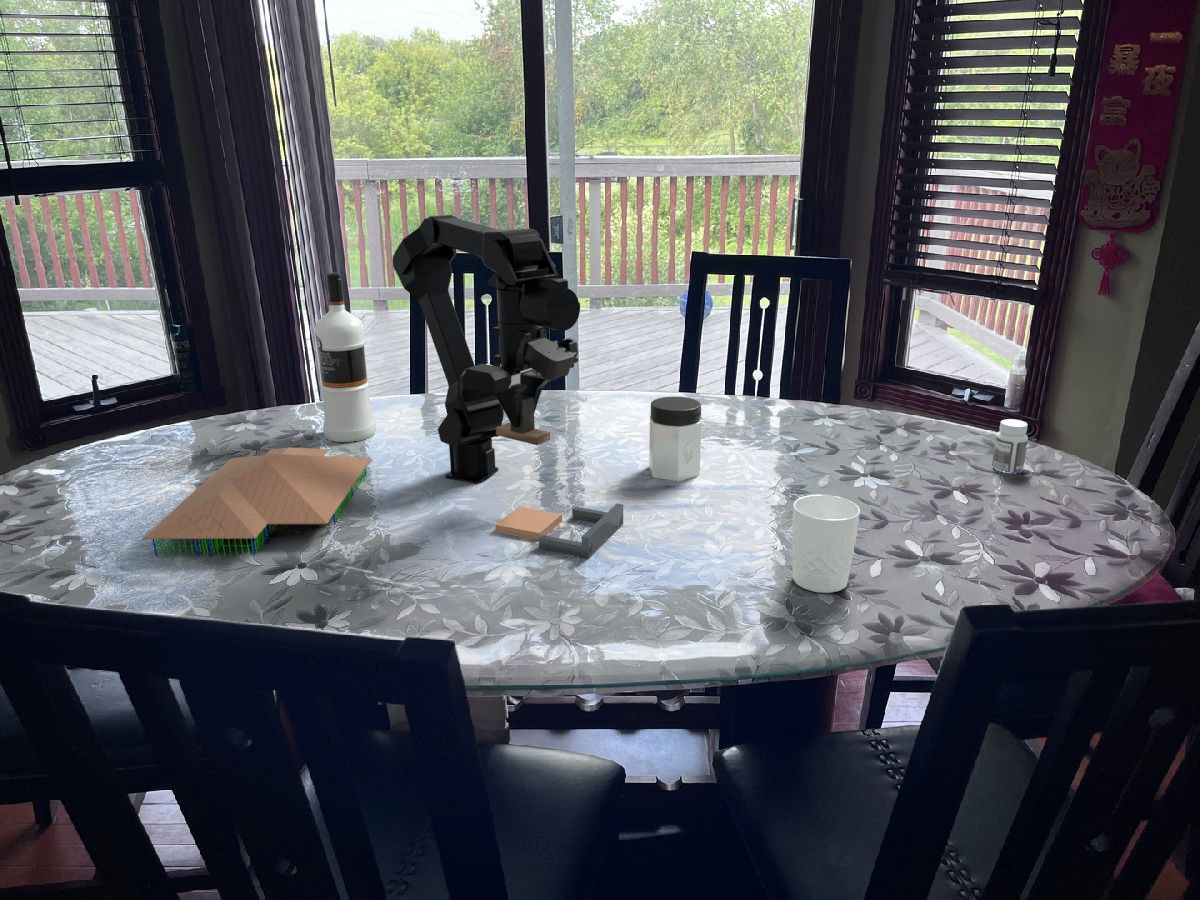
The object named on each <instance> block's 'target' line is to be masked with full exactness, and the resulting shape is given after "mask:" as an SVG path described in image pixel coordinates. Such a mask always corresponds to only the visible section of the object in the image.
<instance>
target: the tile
mask: <svg viewBox="0 0 1200 900" xmlns="http://www.w3.org/2000/svg"><path fill="white" fill-rule="evenodd" d="M562 522H563V514H562V513H558V512H554V511H553V512H551V511H546V510H541V509H536V508H530V507H525V506H518V507H517V508H515V509H514V510H513V511H511V512H510V513H509V514H508V515H506V516H505V517H503V518H502V519H501V520H499V521H498V522H497V523H495V524H494V526H495V527H494V528H495V533H500V534H504V535H510V536H515V537H520V538H526V539H531V540H535V541H539V537H540V536H541V535H545V536H548V534H549V533H550V532H551V531H553V530H554V529H555V528H556V527H558V525H559V524H561V523H562Z"/></svg>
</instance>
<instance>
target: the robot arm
mask: <svg viewBox="0 0 1200 900" xmlns="http://www.w3.org/2000/svg"><path fill="white" fill-rule="evenodd" d="M420 223H421V224H419V227H417V228H415V230H414V231H412V232H411V233H409V234H408V235H407V236H406V237H404V238H403V239H402V240H401V241H400V243H399V245H398V246H397V248H396V249H395V251H394V253H393V256H392V267H393V269H394V271H395V273H396V275H397V276H398V279H399V281H400V283H401V285H402V287H403V289H404V290H405V291H407V292H408V293H409V294H410V295H411V296H412V297H413V298H414V299H415V300H417V301H418V303H419V305H420V308H421V311H422V314H423V317H424V320H425V322H426V325H427V329H428V331H429V334H430V337H431V340H432V343H433V346H434V349H435V351H436V353H437V356H438V359H439V362H440V365H441V367H442V370H443V372H444V376H445V378H446V382H447V386H448V387H447V392H446V397H445V402H444V408H445V410H446V411H445V412H446V416H445V417H444V419H443V420H442V422H440V425H439V426H438V428H437V432H438V436H439V440H440V442H441V443H444V444H447V445H448V447H449V448H448V450H449V464H450V465H449V466H450V471H449V472H447V473H446V474H445V478H446V479H451V480H455V481H457V480H458V481H464V482H468V483H475V484H480V483H483V482H484V481H485V480H486V479H488V478H490V477H491V476H493V475H494V474H496V473H497V472H498V471H499V467H497V466H496V449H495V448H494V447H493V438H497V437H499V436H497V435H496V427H499V426H501V425H503V420H504V416H505V415H506V417H507V419H508V421H509V423H511V425H512V426H513V427H519V426H520V411H521V394H522V395H527V396H531V397H534V414H535V413H536V410H537V406H538V403H539V400H540V397H541V394H542V391H543V389H544V387H545V386H546V385H547V384H548V383H550V381H555V380H557V379H558V378H562V377H567V376H568V375H569V373H570V369H572V368H574V367H575V364H577V363H578V361H579V357H578V355H579V349H578V341H577V340H575V339H573V338H572V337H567V338H566V337H565V338H563V339H561V340H560V341H558V340H554V341H553V340H550V339H548V335H547V334H548V333H547V329H550V330H551V329H552V330H555V331H559V332H564V331H569V330H570V329H571V328H572V327H574V326H575V324H576V323H577V321H578V319H579V317H580V314H581V302H580V301H579V299H578V296H577V294H576V293H575V292H574V291H573V290H572V289H570V288H569V280H568V279H567V278H560V277H559V274H558V271H557V269H556V267H557V266H556V264H555V263H554V262H553V260H552V258H551V256H550V254H549V252H548V250H547V247H546V245H545V243H544V241H543V239H542V238H541V234H540V233H539V231H537V230H536V229H534V228H509V229H498V228H493V227H490V226H487V225H483V224H479V223H475V222H472V221H469V220H464V219H461V218H458V217H457V216H454V215H452V214H446V215H445V214H444V215H443V214H442V215H431V216H428V217H426V218H424V219H423V220H422V222H420ZM457 250H458V251H461V252H463V253H467V254H468V255H469V254H470V255H473V256H476V257H479V258H480V259H481V260H482V264H483V265H484V266H485V267H486V268H488V269H490V270H491V271H493V272H494V274H493V275H492V276H491V277H490V278H489V279H488V281H487V285H488V286H489V287H490V286H491V287H496V298H497V299H496V301H497V304H496V305H497V320H498V321H497V322H498V323H497V324H498V325H497V326H495V327H491V328H492V330H491V331H492V335H493V336H498V345H499V346H498V347H499V354H496V355H493V363H494V364H500V366H497V365H491V364H486V363H481V364H477V365H475V362H474V360H473V357H472V354H471V351H470V349H469V346H468V342H467V340H466V337H465V335H464V331H463V329H462V326H461V323H460V320H459V317H458V315H457V311H456V308H455V306H454V303H453V300H452V298H451V294H450V292H449V288H450V284H451V280H452V277H453V276H452V275H453V271H452V267H451V263H452V261H453V260H454V259H455V257H456V255H458V254H457ZM546 328H547V329H546ZM504 414H505V415H504Z"/></svg>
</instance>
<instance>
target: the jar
mask: <svg viewBox="0 0 1200 900" xmlns="http://www.w3.org/2000/svg"><path fill="white" fill-rule="evenodd" d="M701 417H702V404H701V402H700V401H698V400H697V399H694V398H690V397H684V396H663V397H658V398H656V399H653V400H652V401H651V402H650V415H649V445H648V447H649V451H648V454H649V455H648V456H649V457H648V468H649V471H650V474H651V477H652V478H656V479H662V480H668V481H672V482H681V481H684V480H685V481H686V480H688V479H693V478H696V477H699V476H700V473H701V471H700V470H701V448H702V446H701V445H702V442H701V441H702V421H701Z"/></svg>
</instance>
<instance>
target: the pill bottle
mask: <svg viewBox="0 0 1200 900" xmlns="http://www.w3.org/2000/svg"><path fill="white" fill-rule="evenodd" d="M1027 431H1028V423H1027V422H1026V421H1023V420H1021V419H1012V418H1011V419H1010V418H1009V419H1003V420H1001V421H1000V425H999V431H998V432H997V433H996V435H995V442H994V447H993V454H992V461H991V462H992V463H991V467H992V466H993V467H994V468H996V469H998V470H1001V471H1005V472H1019V471H1022V470H1023V471H1024V467H1025V466H1024V465H1025V460H1026V453H1027V447H1028V442H1029V438H1028V435H1027Z"/></svg>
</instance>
